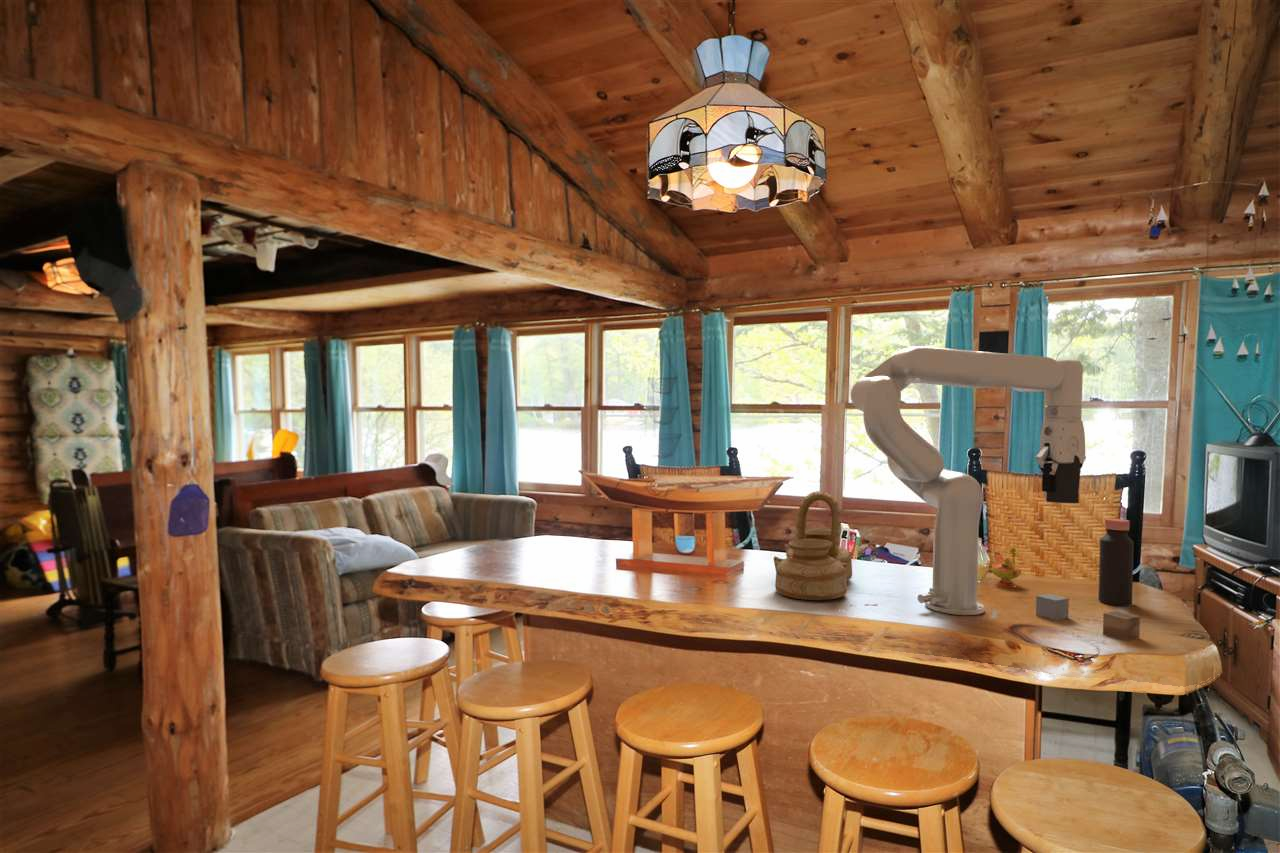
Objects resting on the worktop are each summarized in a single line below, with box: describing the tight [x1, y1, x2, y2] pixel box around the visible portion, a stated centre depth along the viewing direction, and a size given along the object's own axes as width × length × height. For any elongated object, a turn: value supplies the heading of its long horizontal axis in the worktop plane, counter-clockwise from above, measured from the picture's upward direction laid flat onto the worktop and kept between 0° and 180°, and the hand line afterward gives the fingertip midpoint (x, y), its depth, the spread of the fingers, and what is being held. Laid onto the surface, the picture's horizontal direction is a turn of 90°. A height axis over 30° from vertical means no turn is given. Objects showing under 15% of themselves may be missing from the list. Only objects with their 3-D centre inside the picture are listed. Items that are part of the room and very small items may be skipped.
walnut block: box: [1102, 610, 1141, 642], centre depth 147 cm, size 4×4×4 cm
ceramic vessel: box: [773, 490, 853, 601], centre depth 186 cm, size 34×18×25 cm, turn 161°
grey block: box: [1035, 593, 1070, 621], centre depth 161 cm, size 4×4×4 cm
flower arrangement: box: [991, 547, 1021, 588], centre depth 191 cm, size 7×18×11 cm, turn 167°
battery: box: [1044, 455, 1081, 504], centre depth 166 cm, size 7×4×11 cm, turn 72°
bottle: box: [1098, 517, 1135, 607], centre depth 172 cm, size 7×7×20 cm
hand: (1060, 490), depth 166 cm, fingers closed on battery, 6 cm apart
